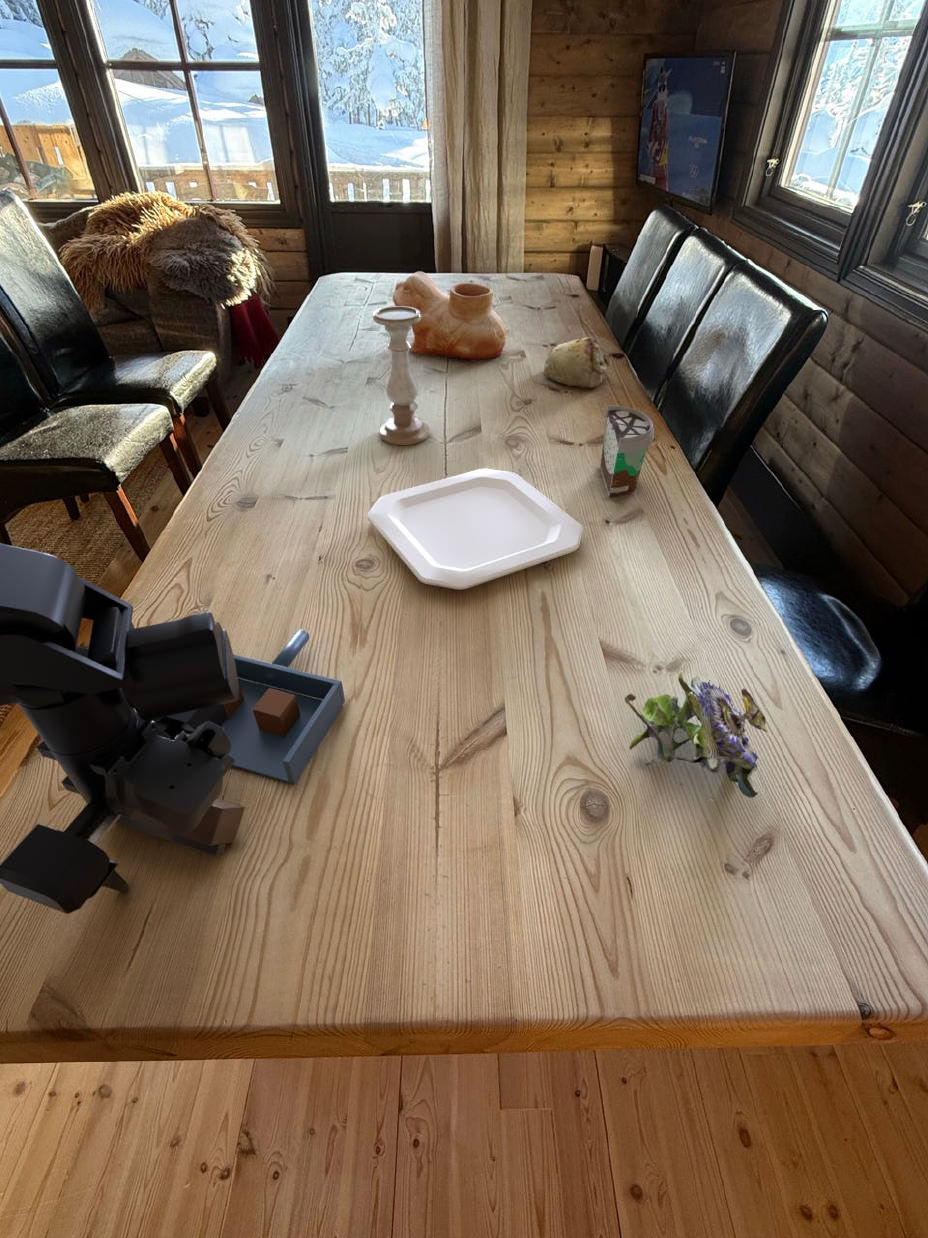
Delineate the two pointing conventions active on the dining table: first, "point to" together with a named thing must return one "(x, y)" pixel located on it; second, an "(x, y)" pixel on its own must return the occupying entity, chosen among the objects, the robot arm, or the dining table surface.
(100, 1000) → the dining table surface
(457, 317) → the ceramic vessel
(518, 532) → the plate
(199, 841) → the brown long block
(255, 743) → the dustpan
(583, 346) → the pastry
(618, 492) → the food container
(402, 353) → the candle holder
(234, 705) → the crumb
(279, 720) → the crumb
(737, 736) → the passion flower
